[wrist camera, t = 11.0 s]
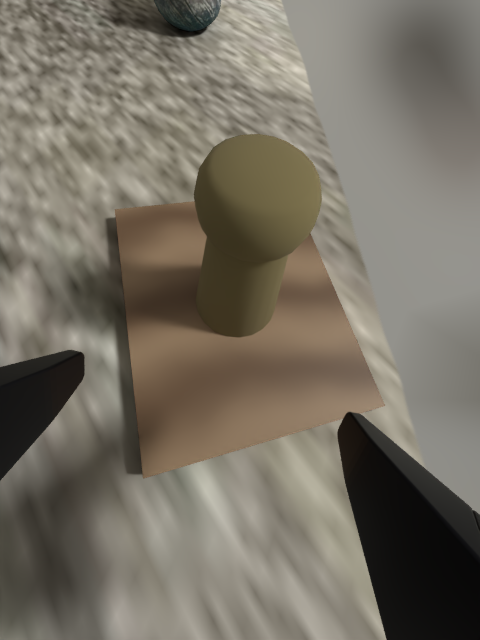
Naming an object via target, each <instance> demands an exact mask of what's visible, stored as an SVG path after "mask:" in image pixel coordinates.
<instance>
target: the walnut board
mask: <svg viewBox="0 0 480 640" xmlns="http://www.w3.org/2000/svg"><path fill="white" fill-rule="evenodd" d="M115 215H116V225H117V234H118V244H119V253H120V263H121V273H122V282H123V292H124V301H125V311H126V320H127V330H128V339H129V349H130V358H131V368H132V378H133V387H134V397H135V406H136V416H137V425H138V435H139V444H140V454H141V463H142V473H143V478H147V477H150V476H153V475H157V474H160V473H163V472H167V471H170V470H173V469H177V468H180V467H183V466H187V465H190V464H193V463H197V462H200V461H203V460H207V459H210V458H213V457H217V456H220V455H223V454H227V453H230V452H233V451H236V450H240V449H243V448H246V447H250V446H253V445H256V444H260V443H263V442H266V441H270V440H273V439H276V438H280V437H283V436H286V435H290V434H293V433H296V432H300V431H303V430H306V429H310V428H313V427H316V426H320V425H323V424H326V423H330V422H333V421H336V420H340V419H343V418H344V416H345V414H346V413H347V412H354V413H363V412H366V411H369V410H373V409H376V408H379V407H383V406H385V404H384V402H383V400H382V397H381V395H380V393H379V391H378V388H377V386H376V384H375V381H374V379H373V377H372V374H371V372H370V370H369V367H368V365H367V363H366V361H365V358H364V356H363V354H362V351H361V349H360V347H359V344H358V342H357V340H356V338H355V335H354V333H353V331H352V328H351V326H350V324H349V321H348V319H347V317H346V315H345V312H344V310H343V308H342V305H341V303H340V301H339V298H338V296H337V294H336V291H335V289H334V287H333V285H332V282H331V280H330V278H329V275H328V273H327V271H326V268H325V266H324V264H323V262H322V259H321V257H320V255H319V252H318V250H317V248H316V245H315V243H314V241H313V238H312V236H311V234H309V236H308V237H307V238H306V239H305V240H304V241H303V242H302V243H301V244H300V245H299V246H298V247H297V248H296V249H295V250H294V251H293V252H292V253H291V254H289V255H288V259H287V263H286V267H285V271H284V275H283V279H282V283H281V287H280V291H279V295H278V299H277V303H276V307H275V310H274V313H273V315H272V318H271V320H270V321H269V323H268V324H267V325H266V326H265V327H264V328H263V329H262V330H260V331H259V332H257V333H255V334H253V335H250V336H245V337H241V338H238V337H228V336H224V335H222V334H220V333H217V332H215V331H213V330H212V329H211V328H210V327H209V326H207V325H206V324H205V323H204V321H203V320H202V318H201V317H200V315H199V313H198V310H197V305H196V295H197V289H198V283H199V277H200V272H201V266H202V260H203V255H204V249H205V243H206V238H207V236H206V234H205V233H204V231H203V230H202V228H201V225H200V223H199V220H198V216H197V212H196V207H195V201H194V202H184V203H174V204H164V205H154V206H144V207H134V208H124V209H115Z"/></svg>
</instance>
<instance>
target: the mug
mask: <svg viewBox="0 0 480 640" xmlns="http://www.w3.org/2000/svg"><path fill="white" fill-rule="evenodd" d="M154 2H155V4H156V6H157V8H158V10H159V11H160V13H161V14H162V16H163V17H164V18H165V19H166V21H168V22H169V23H170V24H172V25H173V26H175V27H177V28H179V29H182V30H186V31H191V32H192V31H196V30H201V29H203V28H205V27H206V26H208V25H210V24H211V23H212V22H213V21H214V20H215V18H216V17H217V16H218V13H219V10H220V6H221V0H154Z"/></svg>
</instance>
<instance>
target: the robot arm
mask: <svg viewBox="0 0 480 640" xmlns="http://www.w3.org/2000/svg"><path fill="white" fill-rule="evenodd" d="M83 377H84V354H83V353H82V352H78V351H74V350H67V351H63V352H59V353H55V354H51V355H47V356H43V357H39V358H35V359H31V360H27V361H23V362H19V363H15V364H11V365H7V366H3V367H0V480H1V479H2V478H3V477H4V476H5V475H6V474H7V472H8V471H9V470H10V469H11V468H12V467H13V466H14V464H15V463H16V462H17V461H18V460H19V459H20V458H21V456H22V455H23V454H24V453H25V452H26V451H27V450H28V449H29V447H30V446H31V445H32V444H33V443H34V442H35V441H36V439H37V438H38V437H39V436H40V435H41V434H42V433H43V431H44V430H45V429H46V428H47V427H48V426H49V425H50V423H51V422H52V421H53V420H54V418H55V417H56V416H57V415H58V413H59V412H60V410H61V409H62V408H63V406H64V405H65V403H66V402H67V401H68V399H69V398H70V397H71V395H72V394H73V392H74V391H75V390H76V388H77V387H78V385H79V384H80V383H81V381H82V380H83ZM338 442H339V448H340V455H341V461H342V467H343V473H344V479H345V484H346V488H347V492H348V495H349V499H350V503H351V507H352V511H353V514H354V518H355V522H356V526H357V529H358V533H359V537H360V541H361V545H362V548H363V552H364V556H365V560H366V563H367V567H368V571H369V575H370V579H371V582H372V586H373V590H374V594H375V597H376V601H377V605H378V609H379V613H380V616H381V620H382V624H383V628H384V631H385V635H386V639H387V640H480V515H479V514H478V513H477V512H476V511H474V510H472V508H471V507H470V506H469V505H468V504H466V503H465V502H464V501H463V500H462V499H460V498H459V497H458V496H457V495H456V494H455V493H453V492H452V491H451V490H450V489H449V488H447V487H446V486H445V485H444V484H443V483H441V482H440V481H439V480H438V479H437V478H435V477H434V476H433V475H432V474H431V473H430V472H429V471H427V470H426V469H425V468H424V467H423V466H421V465H420V464H419V463H418V462H417V461H416V460H414V459H413V458H412V457H411V456H410V455H408V454H407V453H406V452H405V451H404V450H403V449H401V448H400V447H399V446H398V445H397V444H395V443H394V442H393V441H392V440H391V439H390V438H388V437H387V436H386V435H385V434H384V433H382V432H381V431H380V430H379V429H378V428H377V427H375V426H374V425H373V424H372V423H371V422H369V421H368V420H367V419H366V418H365V417H364V416H362V415H361V414H359V413H354V412H347V413H346V414H345V416H344V418H343V420H342V423H341V425H340V427H339V429H338Z"/></svg>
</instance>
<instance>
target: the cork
mask: <svg viewBox="0 0 480 640" xmlns="http://www.w3.org/2000/svg"><path fill="white" fill-rule="evenodd" d="M194 199H195V207H196V212H197V216H198V220H199V223H200V225H201V228H202V230H203V231H204V233H205V234H206V236H207V238H206V243H205V249H204V255H203V260H202V266H201V272H200V277H199V283H198V289H197V295H196V305H197V310H198V313H199V315H200V317H201V318H202V320H203V321H204V323H205V324H206V325H207V326H209V327H210V328H211V329H212V330H213V331H215V332H217V333H220V334H222V335H224V336H228V337H238V338H241V337H245V336H250V335H253V334H255V333H257V332H259V331H260V330H262V329H263V328H264V327H265V326H266V325H267V324H268V323H269V321H270V320H271V318H272V315H273V313H274V310H275V307H276V303H277V299H278V295H279V291H280V287H281V283H282V279H283V275H284V271H285V267H286V263H287V259H288V255H289V254H291V253H292V252H293V251H294V250H295V249H296V248H297V247H298V246H299V245H300V244H301V243H302V242H303V241H304V240H305V239H306V238H307V237H308V236H309V234H310V232H311V231H312V229H313V227H314V225H315V222H316V220H317V217H318V214H319V211H320V206H321V201H322V196H321V185H320V179H319V175H318V173H317V170H316V168H315V166H314V164H313V162H312V161H311V160H310V159H309V158H308V157H307V156H306V155H305V154H304V153H303V152H302V151H300V150H299V149H297V148H296V147H294V146H293V145H291V144H290V143H288V142H286V141H284V140H281V139H278V138H276V137H273V136H267V135H261V134H250V135H239V136H236V137H232V138H229V139H226V140H224V141H223V142H221V143H219V144H218V145H216V146H215V147H214V148H213V149H212V150H211V152H210V153H209V155H208V156H207V157H206V159H205V160H204V162H203V163H202V165H201V166H200V168H199V172H198V176H197V181H196V186H195V191H194Z"/></svg>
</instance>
